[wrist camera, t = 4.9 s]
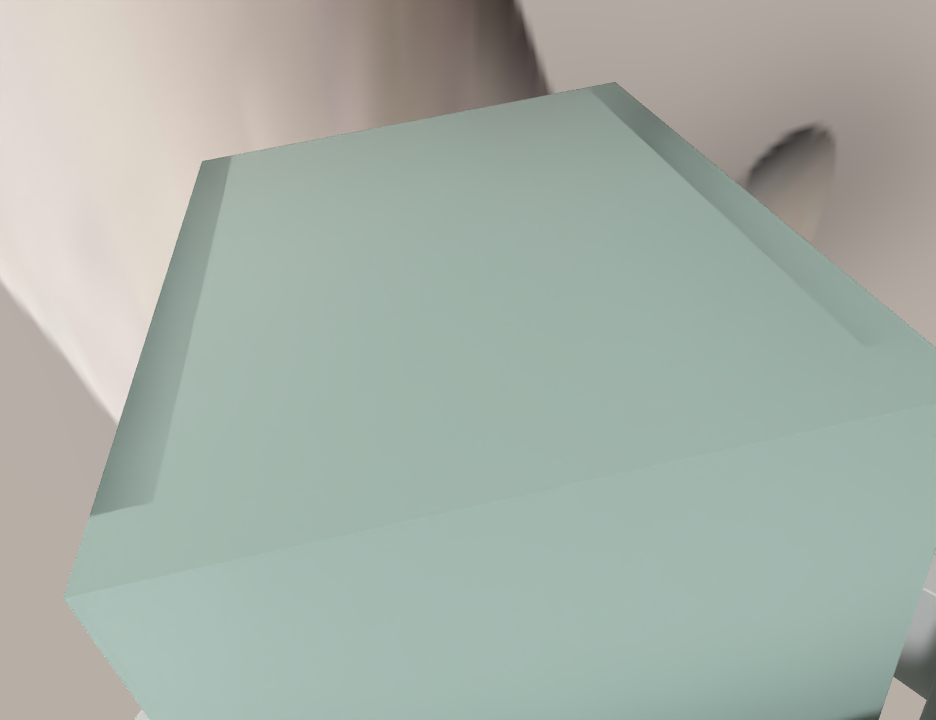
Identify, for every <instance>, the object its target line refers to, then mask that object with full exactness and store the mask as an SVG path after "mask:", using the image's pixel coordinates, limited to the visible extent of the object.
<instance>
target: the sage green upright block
mask: <svg viewBox="0 0 936 720" xmlns="http://www.w3.org/2000/svg"><path fill="white" fill-rule="evenodd" d="M935 550H936V347H935V346H933V345H932V344H931V343H930V342H928V341H927V340H926V339H925V338H924V337H922V336H921V335H920V334H919V333H917V332H916V331H915V330H914V329H913V328H911V327H910V326H909V325H908V324H907V323H905V322H904V321H903V320H902V319H901V318H899V317H898V316H897V315H896V314H895V313H893V312H892V311H891V310H890V309H889V308H887V307H886V306H885V305H884V304H883V303H881V302H880V301H879V300H878V299H877V298H875V297H874V296H873V295H872V294H870V293H869V292H868V291H867V290H866V289H864V288H863V287H862V286H861V285H860V284H858V283H857V282H856V281H855V280H854V279H852V278H851V277H850V276H849V275H848V274H846V273H845V272H844V271H843V270H842V269H840V268H839V267H838V266H836V265H835V264H834V263H833V262H832V261H830V260H829V259H828V258H827V257H826V256H825V255H823V254H822V253H821V252H820V251H819V250H817V249H816V248H815V247H814V246H813V245H811V244H810V243H809V242H808V241H806V240H805V239H804V238H803V237H802V236H800V235H799V234H798V233H797V232H796V231H794V230H793V229H792V228H791V227H790V226H788V225H787V224H786V223H785V222H784V221H782V220H781V219H780V218H779V217H777V216H776V215H775V214H774V213H773V212H771V211H770V210H769V209H768V208H767V207H765V206H764V205H763V204H762V203H761V202H759V201H758V200H757V199H756V198H755V197H753V196H752V195H751V194H750V193H748V192H747V191H746V190H745V189H744V188H742V187H741V186H740V185H739V184H738V183H736V182H735V181H734V180H733V179H732V178H730V177H729V176H728V175H726V173H724V172H723V171H722V170H721V169H719V168H718V167H717V166H716V165H715V164H713V163H712V162H711V161H710V160H709V159H707V158H706V157H705V156H704V155H702V154H701V153H700V152H699V151H698V150H697V149H695V148H694V147H693V146H692V145H690V144H689V143H688V142H687V141H686V140H684V139H683V138H682V137H681V136H680V135H678V134H677V133H676V132H675V131H674V130H672V129H671V128H670V127H669V126H668V125H666V124H665V123H664V122H662V121H661V120H660V119H659V118H658V117H657V116H655V115H654V114H653V113H652V112H651V111H649V110H648V109H647V108H646V107H645V106H643V105H642V104H641V103H640V102H638V101H637V100H636V99H635V98H634V97H632V96H631V95H630V94H629V93H628V92H626V91H625V90H624V89H623V88H622V87H620V86H619V85H618V84H617V83H616V82H613V83H608V84H603V85H597V86H592V87H587V88H582V89H577V90H571V91H566V92H561V93H556V94H551V95H545V96H540V97H535V98H530V99H524V100H519V101H514V102H509V103H504V104H498V105H493V106H488V107H483V108H478V109H472V110H467V111H462V112H457V113H451V114H446V115H441V116H436V117H431V118H425V119H420V120H415V121H410V122H405V123H399V124H394V125H389V126H384V127H378V128H373V129H368V130H363V131H358V132H352V133H347V134H342V135H337V136H332V137H326V138H321V139H316V140H311V141H306V142H300V143H295V144H290V145H285V146H279V147H274V148H269V149H264V150H259V151H253V152H248V153H243V154H238V155H233V156H227V157H222V158H217V159H212V160H206V161H202V164H201V167H200V170H199V173H198V176H197V179H196V183H195V186H194V189H193V192H192V195H191V198H190V201H189V205H188V208H187V211H186V214H185V217H184V220H183V223H182V227H181V230H180V233H179V236H178V239H177V242H176V246H175V249H174V252H173V255H172V258H171V261H170V264H169V268H168V271H167V274H166V277H165V280H164V283H163V286H162V290H161V293H160V296H159V299H158V302H157V305H156V309H155V312H154V315H153V318H152V321H151V324H150V327H149V331H148V334H147V337H146V340H145V343H144V346H143V349H142V353H141V356H140V359H139V362H138V365H137V368H136V372H135V375H134V378H133V381H132V384H131V387H130V390H129V394H128V397H127V400H126V403H125V406H124V409H123V412H122V416H121V419H120V422H119V425H118V428H117V431H116V435H115V438H114V441H113V444H112V447H111V450H110V453H109V457H108V460H107V463H106V466H105V469H104V472H103V476H102V479H101V482H100V485H99V488H98V491H97V494H96V498H95V501H94V504H93V507H92V510H91V513H90V517H89V520H88V523H87V526H86V529H85V532H84V536H83V539H82V542H81V545H80V548H79V551H78V554H77V557H76V561H75V564H74V567H73V570H72V573H71V576H70V579H69V583H68V586H67V589H66V592H65V595H64V600H65V601H66V602H67V604H68V605H69V607H70V608H71V610H72V611H73V612H74V614H75V615H76V617H77V618H78V619H79V621H80V622H81V624H82V625H83V627H84V628H85V629H86V631H87V632H88V633H89V635H90V636H91V638H92V639H93V641H94V642H95V643H96V645H97V646H98V648H99V649H100V650H101V652H102V653H103V655H104V656H105V657H106V659H107V660H108V662H109V663H110V664H111V666H112V667H113V669H114V670H115V672H116V673H117V674H118V676H119V677H120V678H121V680H122V681H123V683H124V684H125V686H126V687H127V688H128V690H129V691H130V693H131V694H132V696H133V697H134V698H135V700H136V701H137V703H138V704H139V705H140V707H141V708H142V710H143V711H144V712H145V714H146V715H147V717H148V718H149V719H150V720H879V717H880V714H881V710H882V708H883V705H884V702H885V699H886V696H887V693H888V690H889V687H890V684H891V681H892V678H893V675H894V672H895V669H896V666H897V663H898V660H899V657H900V654H901V651H902V648H903V645H904V642H905V639H906V636H907V633H908V630H909V627H910V624H911V621H912V618H913V616H914V613H915V610H916V607H917V604H918V601H919V598H920V595H921V592H922V589H923V586H924V583H925V580H926V577H927V574H928V571H929V568H930V565H931V562H932V559H933V556H934V553H935Z"/></svg>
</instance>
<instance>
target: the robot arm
mask: <svg viewBox="0 0 936 720" xmlns="http://www.w3.org/2000/svg"><path fill="white" fill-rule="evenodd" d="M893 676H894V677H895V678H897V679H898V680H899V681H901V682H902V683H904V684H905V685H906V686H908V687H909V688H911V689H912V690H914V691H915V692H916V693H918V694H919V695H921V696H922V697H924V698H925V699H926V700H927V701H926V704H925V706H924V709H923V712H922V714H921V717H920V720H936V554H935V553H934V556H933V559H932V562H931V565H930V568H929V571H928V574H927V577H926V580H925V583H924V586H923V589H922V592H921V595H920V598H919V601H918V604H917V607H916V610H915V613H914V616H913V618H912V621H911V624H910V627H909V630H908V633H907V636H906V639H905V642H904V645H903V648H902V651H901V654H900V657H899V660H898V663H897V666H896V669H895V672H894V675H893ZM134 720H150V719H149V718H148V717H147V715H146V714H145V712H144V711H143V710H141V711H140V712H139V713H138V715H137V716H136V717H135V719H134Z"/></svg>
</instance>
